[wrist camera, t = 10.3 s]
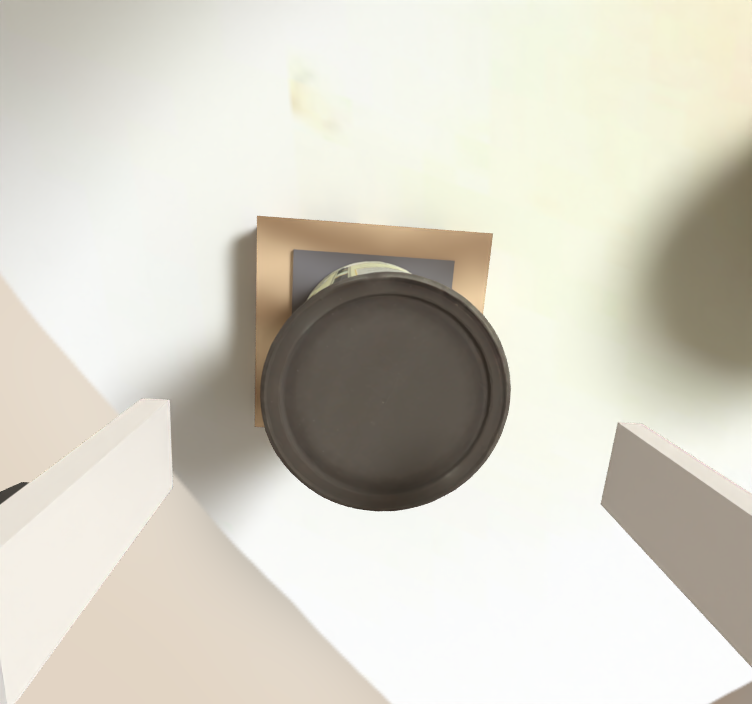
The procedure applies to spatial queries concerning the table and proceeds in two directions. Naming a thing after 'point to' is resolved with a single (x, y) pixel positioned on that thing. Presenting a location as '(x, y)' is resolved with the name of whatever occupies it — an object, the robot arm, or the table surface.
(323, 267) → the dock
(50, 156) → the table surface
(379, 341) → the coffee can
